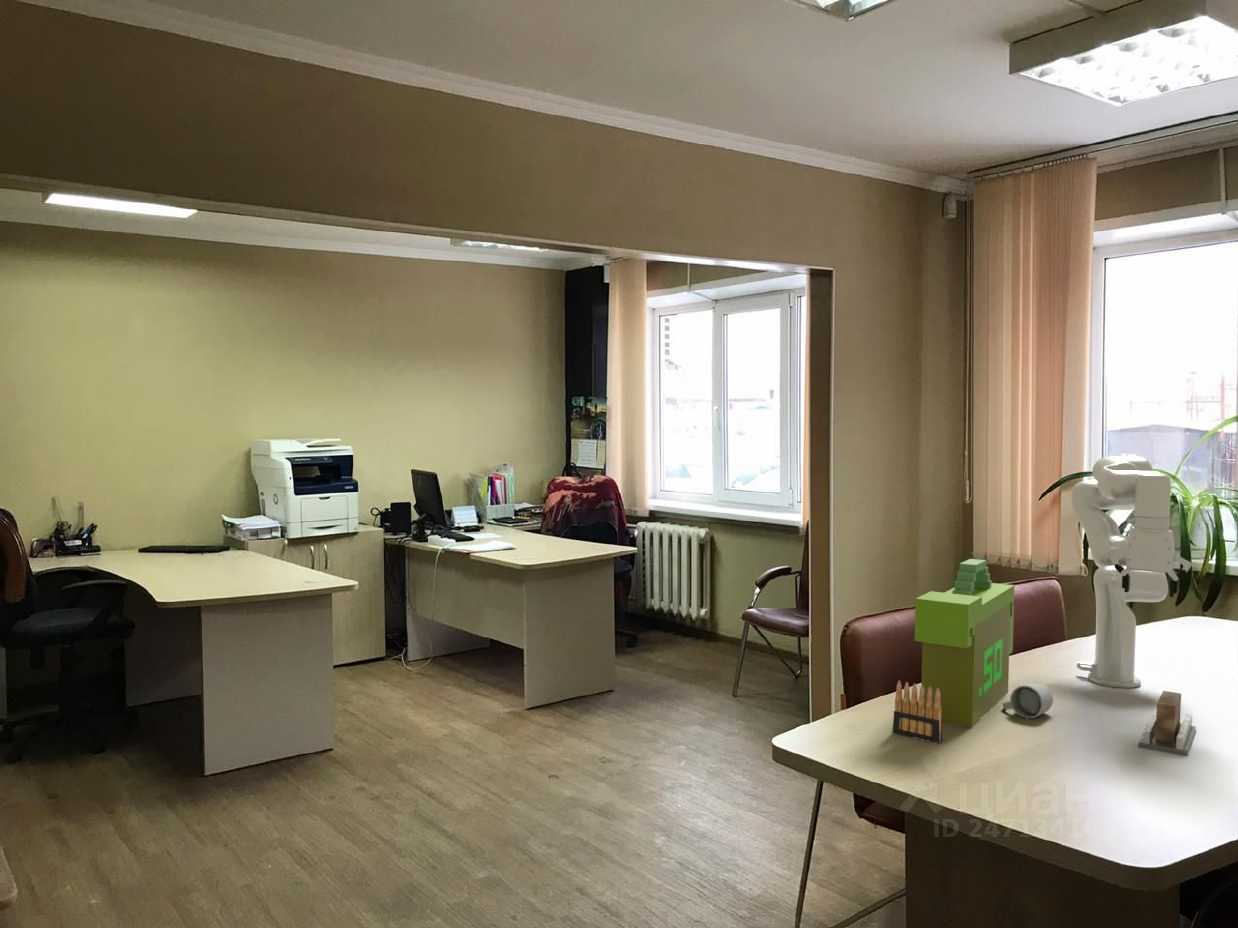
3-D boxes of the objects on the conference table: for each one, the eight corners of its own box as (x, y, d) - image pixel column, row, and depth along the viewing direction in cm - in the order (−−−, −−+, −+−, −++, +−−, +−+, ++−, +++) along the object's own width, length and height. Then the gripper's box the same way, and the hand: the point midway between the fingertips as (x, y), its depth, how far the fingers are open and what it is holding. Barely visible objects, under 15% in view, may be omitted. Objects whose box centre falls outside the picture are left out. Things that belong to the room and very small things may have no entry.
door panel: (1155, 739, 206) (1156, 703, 205) (1162, 725, 215) (1163, 690, 215) (1174, 742, 204) (1175, 706, 203) (1179, 728, 213) (1181, 693, 213)
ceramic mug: (1054, 714, 226) (1055, 682, 226) (1042, 721, 220) (1042, 689, 220) (1010, 705, 234) (1010, 674, 233) (996, 712, 228) (997, 681, 228)
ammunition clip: (942, 741, 206) (943, 687, 206) (939, 743, 205) (940, 689, 204) (895, 730, 213) (897, 678, 213) (892, 732, 212) (893, 680, 211)
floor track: (1138, 746, 204) (1139, 730, 204) (1150, 722, 220) (1151, 708, 220) (1187, 755, 199) (1187, 739, 199) (1195, 730, 215) (1196, 715, 215)
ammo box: (965, 734, 211) (969, 578, 209) (912, 724, 218) (916, 573, 216) (1011, 688, 248) (1015, 555, 246) (965, 681, 255) (968, 551, 253)
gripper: (1109, 522, 231) (1107, 592, 232) (1191, 528, 221) (1188, 600, 222) (1114, 520, 237) (1112, 587, 238) (1194, 525, 227) (1191, 595, 228)
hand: (1149, 593), depth 230 cm, fingers open, 9 cm apart
